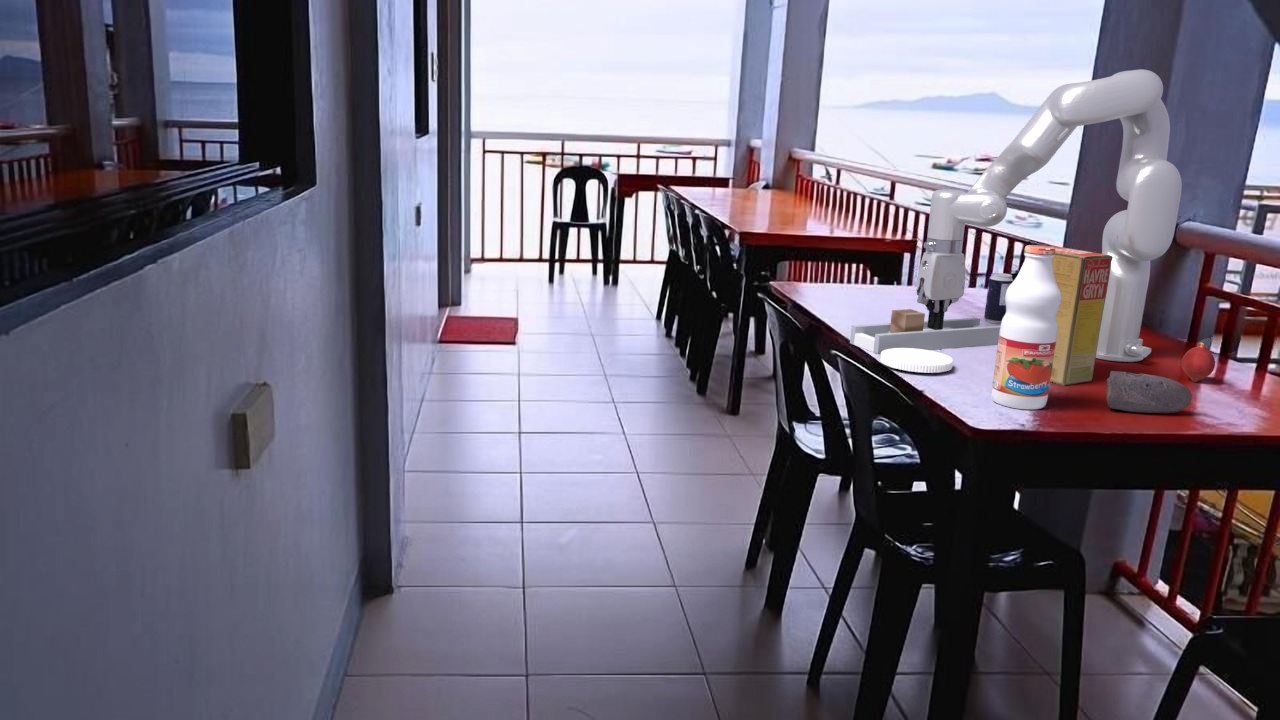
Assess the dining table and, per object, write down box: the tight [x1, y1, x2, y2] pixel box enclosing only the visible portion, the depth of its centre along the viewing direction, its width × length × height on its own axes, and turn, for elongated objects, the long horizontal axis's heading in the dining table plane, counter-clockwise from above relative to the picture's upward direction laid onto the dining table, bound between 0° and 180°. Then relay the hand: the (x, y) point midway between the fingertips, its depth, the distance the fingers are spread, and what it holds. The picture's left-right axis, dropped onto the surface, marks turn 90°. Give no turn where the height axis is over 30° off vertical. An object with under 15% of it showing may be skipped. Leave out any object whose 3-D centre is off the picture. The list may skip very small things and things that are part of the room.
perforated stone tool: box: [1105, 370, 1193, 414], centre depth 168 cm, size 15×5×7 cm, turn 82°
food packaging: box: [1048, 245, 1113, 387], centre depth 188 cm, size 13×9×25 cm
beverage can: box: [983, 272, 1014, 325], centre depth 239 cm, size 6×6×12 cm
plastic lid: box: [879, 348, 954, 374], centre depth 194 cm, size 14×14×2 cm
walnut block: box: [890, 308, 926, 333], centre depth 211 cm, size 5×5×5 cm
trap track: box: [849, 317, 1001, 355], centre depth 214 cm, size 10×35×4 cm, turn 113°
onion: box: [1180, 342, 1216, 382], centre depth 190 cm, size 6×6×8 cm
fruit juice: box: [990, 244, 1061, 410], centre depth 168 cm, size 9×9×28 cm
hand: (934, 328), depth 214 cm, fingers closed
